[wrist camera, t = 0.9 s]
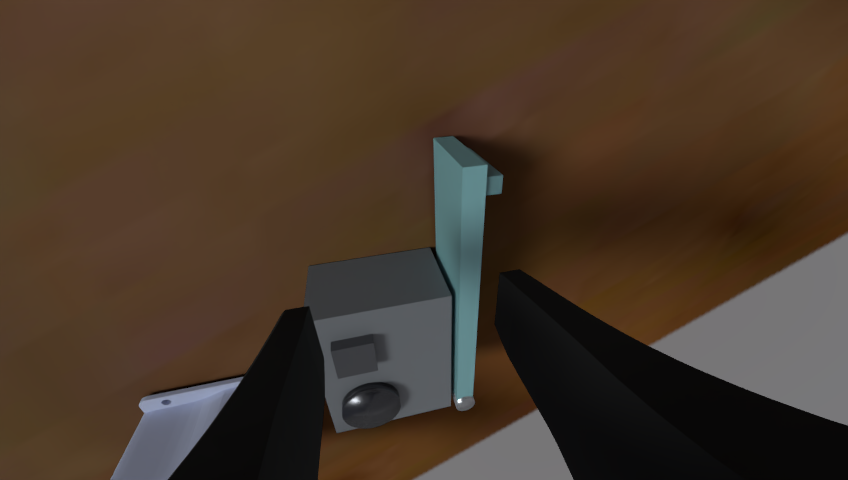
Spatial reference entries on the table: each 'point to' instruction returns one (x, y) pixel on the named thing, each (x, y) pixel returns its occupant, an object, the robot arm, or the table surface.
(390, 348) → the camera case
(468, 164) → the side door
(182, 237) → the table surface
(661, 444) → the robot arm
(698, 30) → the table surface
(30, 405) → the table surface
